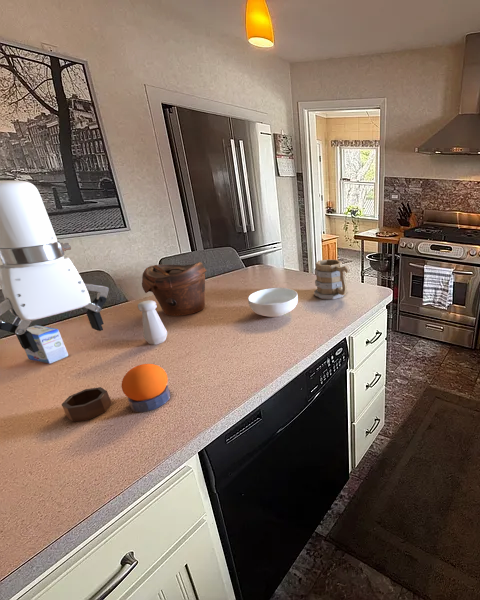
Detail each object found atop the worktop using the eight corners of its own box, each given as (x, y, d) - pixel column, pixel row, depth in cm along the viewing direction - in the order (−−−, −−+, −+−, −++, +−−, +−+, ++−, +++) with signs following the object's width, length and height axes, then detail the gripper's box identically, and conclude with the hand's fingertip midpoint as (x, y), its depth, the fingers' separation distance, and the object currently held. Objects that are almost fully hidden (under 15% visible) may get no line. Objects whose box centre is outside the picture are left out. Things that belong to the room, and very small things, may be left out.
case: (147, 309, 121) (134, 262, 114) (207, 297, 133) (198, 254, 126) (154, 325, 108) (139, 274, 102) (219, 310, 121) (210, 263, 114)
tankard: (310, 293, 140) (307, 259, 135) (335, 287, 148) (333, 254, 143) (334, 307, 126) (332, 270, 121) (361, 299, 134) (360, 264, 129)
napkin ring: (77, 425, 66) (71, 411, 65) (63, 414, 69) (57, 401, 68) (116, 406, 72) (111, 393, 70) (101, 397, 74) (96, 384, 73)
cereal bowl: (240, 318, 115) (236, 299, 113) (271, 301, 130) (269, 285, 127) (280, 326, 110) (277, 306, 108) (308, 308, 125) (306, 290, 122)
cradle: (142, 416, 69) (139, 406, 68) (124, 405, 72) (121, 396, 71) (177, 397, 75) (174, 388, 74) (159, 387, 78) (156, 379, 77)
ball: (139, 413, 68) (128, 381, 65) (119, 401, 71) (108, 370, 68) (178, 392, 75) (170, 362, 72) (159, 382, 78) (150, 353, 75)
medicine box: (28, 360, 88) (15, 331, 84) (48, 351, 92) (36, 324, 88) (50, 364, 86) (37, 335, 83) (69, 355, 90) (58, 327, 87)
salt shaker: (149, 338, 100) (137, 299, 95) (171, 335, 102) (160, 297, 97) (142, 347, 95) (130, 306, 90) (165, 344, 97) (154, 304, 92)
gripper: (83, 243, 66) (110, 319, 73) (-53, 262, 52) (-5, 354, 58) (101, 247, 63) (128, 326, 70) (-39, 269, 49) (11, 365, 55)
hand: (67, 339), depth 64 cm, fingers open, 9 cm apart
